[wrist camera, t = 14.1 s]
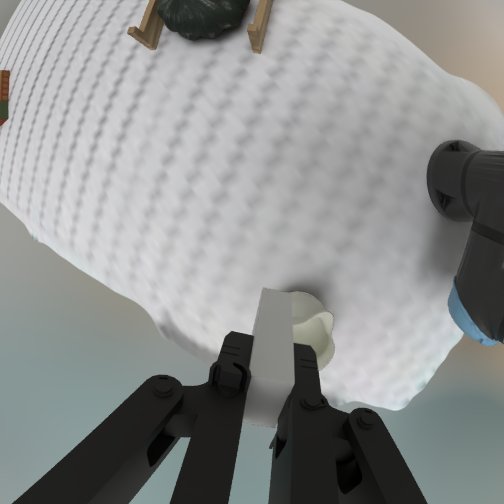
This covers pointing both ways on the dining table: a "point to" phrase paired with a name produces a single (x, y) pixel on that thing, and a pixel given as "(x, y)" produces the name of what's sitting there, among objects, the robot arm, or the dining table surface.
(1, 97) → the carton
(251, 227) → the dining table surface
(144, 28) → the rack
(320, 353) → the pitcher
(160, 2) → the squash
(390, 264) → the dining table surface
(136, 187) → the dining table surface
